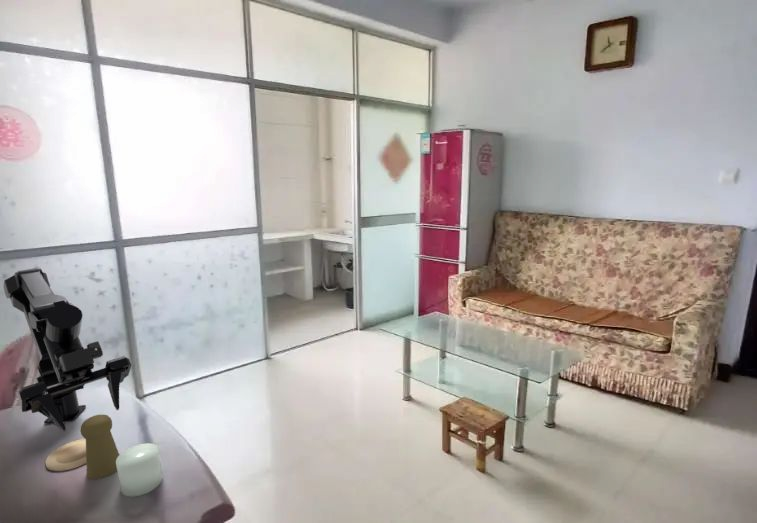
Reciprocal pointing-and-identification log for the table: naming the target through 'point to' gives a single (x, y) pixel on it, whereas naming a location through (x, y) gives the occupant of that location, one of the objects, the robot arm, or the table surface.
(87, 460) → the pepper shaker
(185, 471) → the table surface
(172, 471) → the table surface
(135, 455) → the pale mint rounded cylinder
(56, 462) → the trivet
